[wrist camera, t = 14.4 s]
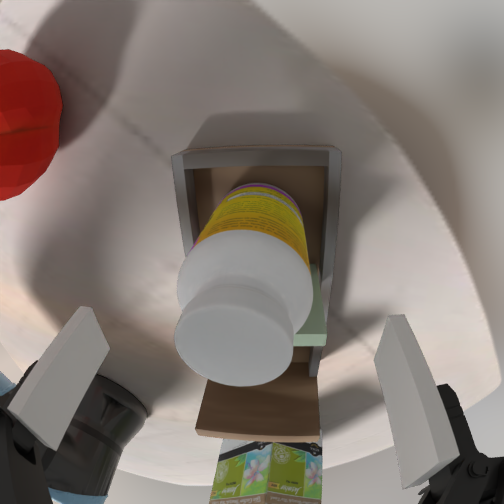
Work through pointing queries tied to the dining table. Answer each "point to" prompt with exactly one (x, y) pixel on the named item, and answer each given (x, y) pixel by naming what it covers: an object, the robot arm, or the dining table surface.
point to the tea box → (268, 473)
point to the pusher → (313, 318)
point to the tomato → (26, 121)
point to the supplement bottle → (245, 288)
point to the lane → (319, 252)
